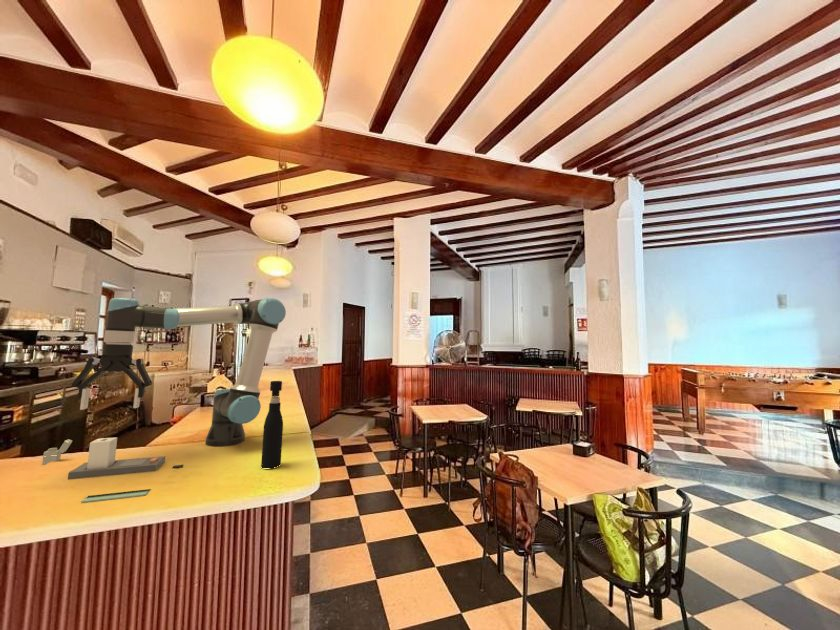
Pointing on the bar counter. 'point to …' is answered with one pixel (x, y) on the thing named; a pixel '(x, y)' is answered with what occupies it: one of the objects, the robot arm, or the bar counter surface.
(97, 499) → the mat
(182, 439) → the bar counter surface
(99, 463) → the charger
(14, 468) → the bar counter surface
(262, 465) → the wine bottle
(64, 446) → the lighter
